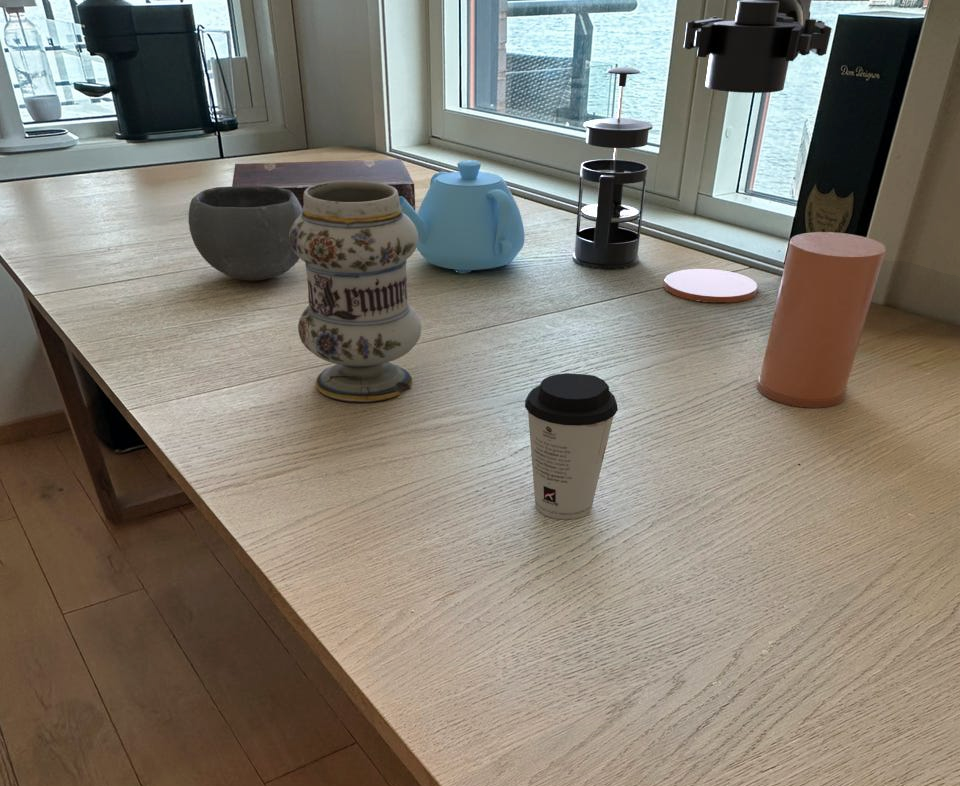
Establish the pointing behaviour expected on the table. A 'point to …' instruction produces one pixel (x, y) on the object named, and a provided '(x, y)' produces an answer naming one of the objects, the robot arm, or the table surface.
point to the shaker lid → (750, 50)
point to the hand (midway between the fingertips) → (746, 43)
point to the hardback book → (325, 175)
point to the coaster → (710, 285)
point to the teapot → (467, 220)
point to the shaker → (819, 317)
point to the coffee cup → (568, 441)
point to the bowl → (245, 230)
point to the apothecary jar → (357, 287)
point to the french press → (611, 190)
